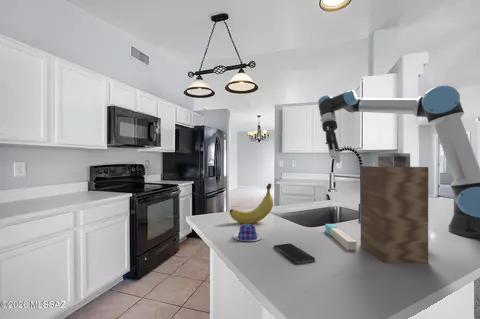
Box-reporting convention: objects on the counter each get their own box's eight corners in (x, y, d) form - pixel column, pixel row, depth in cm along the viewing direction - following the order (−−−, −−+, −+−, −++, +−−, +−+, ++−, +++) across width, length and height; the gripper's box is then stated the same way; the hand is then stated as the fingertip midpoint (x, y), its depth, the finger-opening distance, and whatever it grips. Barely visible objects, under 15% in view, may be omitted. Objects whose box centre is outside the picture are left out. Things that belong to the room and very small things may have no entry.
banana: (230, 225, 114) (230, 184, 114) (228, 222, 120) (229, 183, 120) (274, 223, 118) (274, 184, 118) (270, 220, 124) (271, 182, 124)
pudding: (260, 233, 102) (260, 221, 102) (263, 243, 90) (263, 229, 90) (233, 233, 102) (233, 221, 102) (232, 243, 90) (232, 229, 90)
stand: (398, 246, 87) (398, 154, 87) (428, 262, 73) (428, 153, 73) (360, 246, 87) (360, 154, 87) (383, 262, 73) (383, 152, 73)
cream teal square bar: (332, 231, 105) (333, 223, 105) (356, 250, 83) (356, 241, 83) (325, 231, 105) (325, 223, 105) (347, 250, 83) (347, 241, 83)
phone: (295, 262, 71) (272, 245, 85) (295, 266, 71) (272, 248, 85) (316, 259, 73) (291, 243, 88) (316, 262, 73) (291, 246, 88)
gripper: (327, 132, 139) (333, 166, 133) (315, 116, 119) (322, 154, 113) (340, 128, 135) (347, 163, 129) (330, 111, 115) (338, 151, 109)
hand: (335, 159), depth 121 cm, fingers open, 13 cm apart
